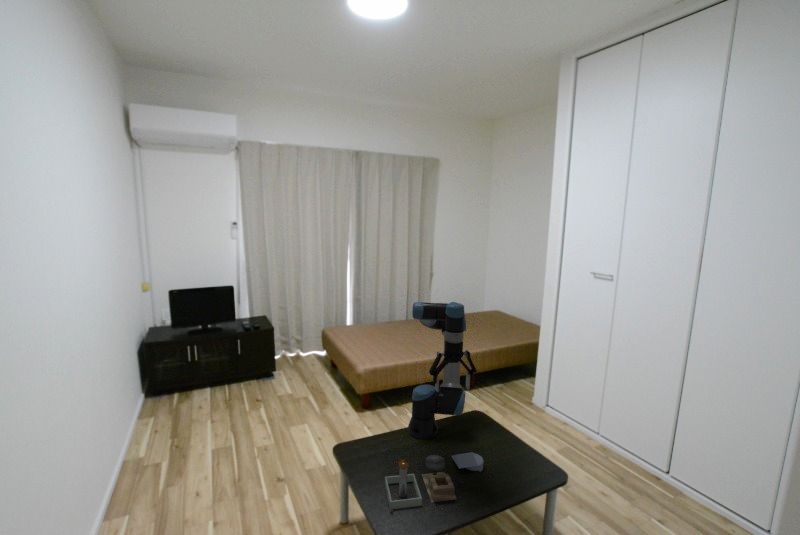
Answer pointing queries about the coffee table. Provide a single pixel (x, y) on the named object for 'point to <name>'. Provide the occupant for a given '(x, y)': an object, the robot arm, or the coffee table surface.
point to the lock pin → (403, 477)
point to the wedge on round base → (469, 461)
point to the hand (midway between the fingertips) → (452, 389)
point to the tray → (403, 502)
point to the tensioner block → (438, 480)
